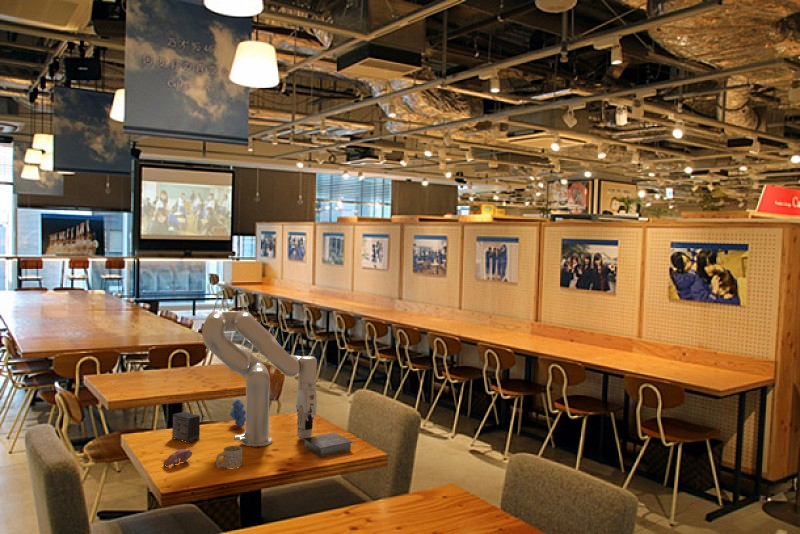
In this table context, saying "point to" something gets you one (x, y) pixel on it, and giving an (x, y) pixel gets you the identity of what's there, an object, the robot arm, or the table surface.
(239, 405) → the grapes
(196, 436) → the small box
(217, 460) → the mug
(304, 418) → the energy drink can
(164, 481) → the table surface
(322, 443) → the stand
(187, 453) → the purple oval lump
